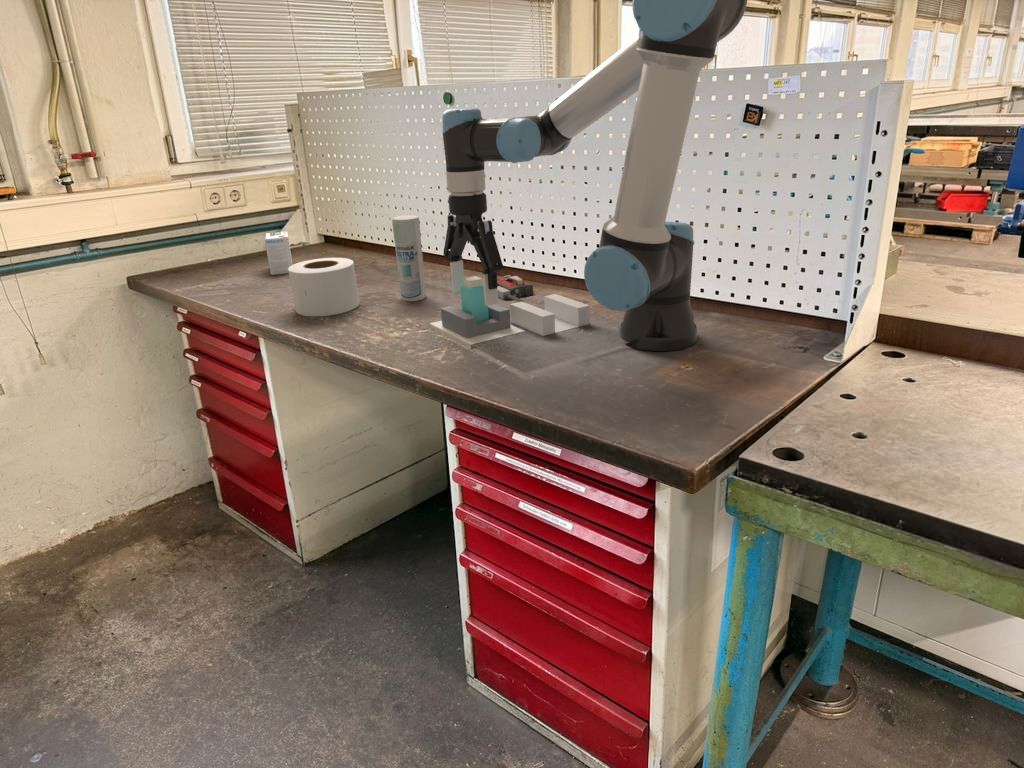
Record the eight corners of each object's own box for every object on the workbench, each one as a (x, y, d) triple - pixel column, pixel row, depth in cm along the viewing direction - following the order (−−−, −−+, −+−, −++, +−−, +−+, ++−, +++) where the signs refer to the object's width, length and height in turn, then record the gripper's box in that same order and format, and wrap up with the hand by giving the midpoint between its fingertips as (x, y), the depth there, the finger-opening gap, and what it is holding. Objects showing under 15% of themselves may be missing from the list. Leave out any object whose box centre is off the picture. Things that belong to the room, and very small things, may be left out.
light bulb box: (271, 267, 214) (264, 232, 210) (293, 265, 216) (287, 230, 212) (270, 275, 205) (264, 238, 201) (294, 272, 207) (287, 236, 203)
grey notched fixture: (525, 335, 143) (524, 312, 141) (471, 349, 137) (469, 325, 135) (481, 315, 157) (479, 294, 155) (430, 327, 151) (427, 305, 149)
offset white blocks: (589, 328, 145) (589, 305, 144) (543, 340, 140) (542, 316, 138) (555, 315, 155) (555, 293, 153) (511, 326, 149) (509, 304, 147)
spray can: (396, 301, 172) (387, 219, 164) (406, 294, 178) (398, 215, 170) (421, 301, 171) (413, 219, 163) (430, 294, 176) (422, 215, 169)
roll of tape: (311, 320, 160) (304, 275, 156) (285, 308, 171) (277, 265, 167) (370, 306, 169) (365, 263, 165) (342, 295, 180) (336, 254, 176)
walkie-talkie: (481, 291, 179) (518, 308, 163) (480, 274, 177) (517, 290, 161) (511, 285, 183) (550, 302, 166) (510, 269, 181) (550, 284, 165)
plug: (489, 327, 146) (486, 278, 142) (472, 331, 144) (469, 282, 140) (479, 322, 149) (476, 275, 145) (463, 326, 147) (459, 278, 143)
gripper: (517, 196, 128) (522, 306, 136) (453, 186, 147) (461, 283, 156) (483, 200, 124) (490, 314, 132) (421, 190, 144) (431, 289, 152)
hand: (474, 297), depth 144 cm, fingers open, 13 cm apart
